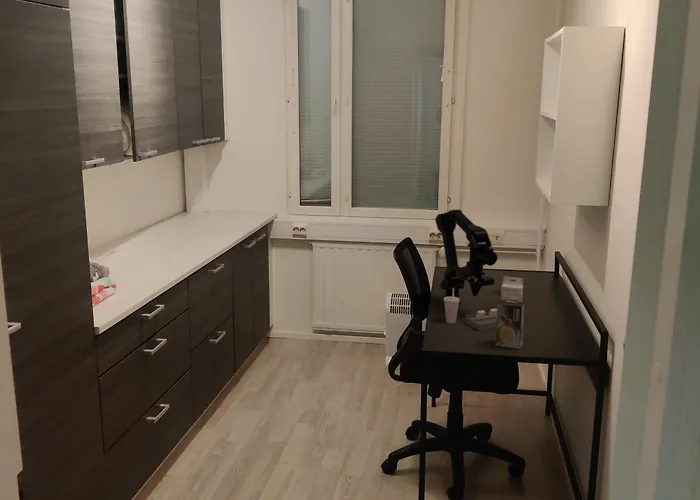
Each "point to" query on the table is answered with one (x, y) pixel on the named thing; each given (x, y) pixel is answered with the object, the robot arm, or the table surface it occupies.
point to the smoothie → (451, 308)
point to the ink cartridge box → (512, 289)
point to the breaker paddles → (481, 314)
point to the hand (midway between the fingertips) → (474, 296)
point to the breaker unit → (481, 322)
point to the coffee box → (510, 323)
